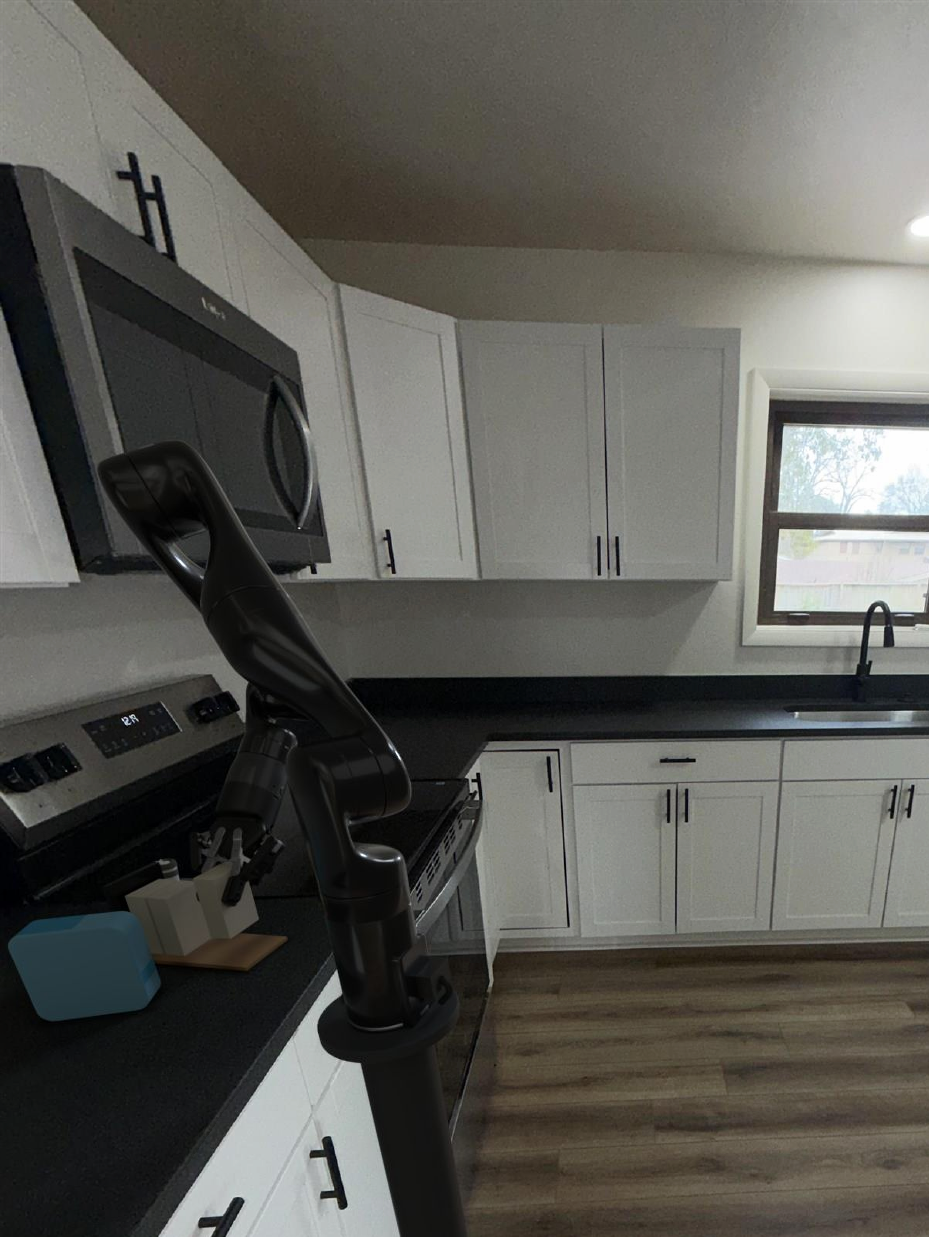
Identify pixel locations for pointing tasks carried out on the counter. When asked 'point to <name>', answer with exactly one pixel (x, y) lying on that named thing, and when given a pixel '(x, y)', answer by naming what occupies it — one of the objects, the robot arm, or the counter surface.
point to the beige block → (221, 916)
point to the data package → (85, 965)
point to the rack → (182, 923)
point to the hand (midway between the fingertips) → (216, 903)
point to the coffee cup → (171, 870)
